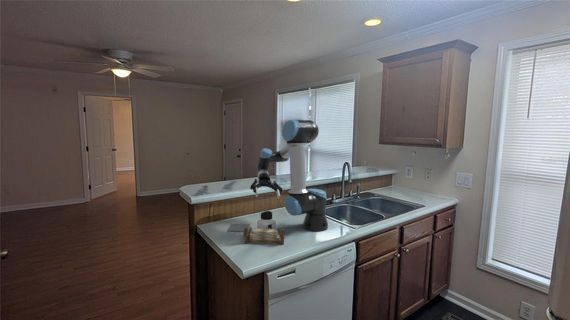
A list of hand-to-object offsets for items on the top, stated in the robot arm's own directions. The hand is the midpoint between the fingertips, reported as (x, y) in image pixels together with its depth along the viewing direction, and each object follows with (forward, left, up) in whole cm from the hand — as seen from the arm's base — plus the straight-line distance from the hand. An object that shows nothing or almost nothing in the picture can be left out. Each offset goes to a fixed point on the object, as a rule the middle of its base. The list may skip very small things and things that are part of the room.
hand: (268, 196), depth 158 cm
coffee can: (-34, -39, -20) cm, 55 cm away
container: (0, +9, -20) cm, 22 cm away
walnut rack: (0, +14, -19) cm, 24 cm away
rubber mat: (+17, +2, -19) cm, 26 cm away
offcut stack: (0, +19, -18) cm, 26 cm away
